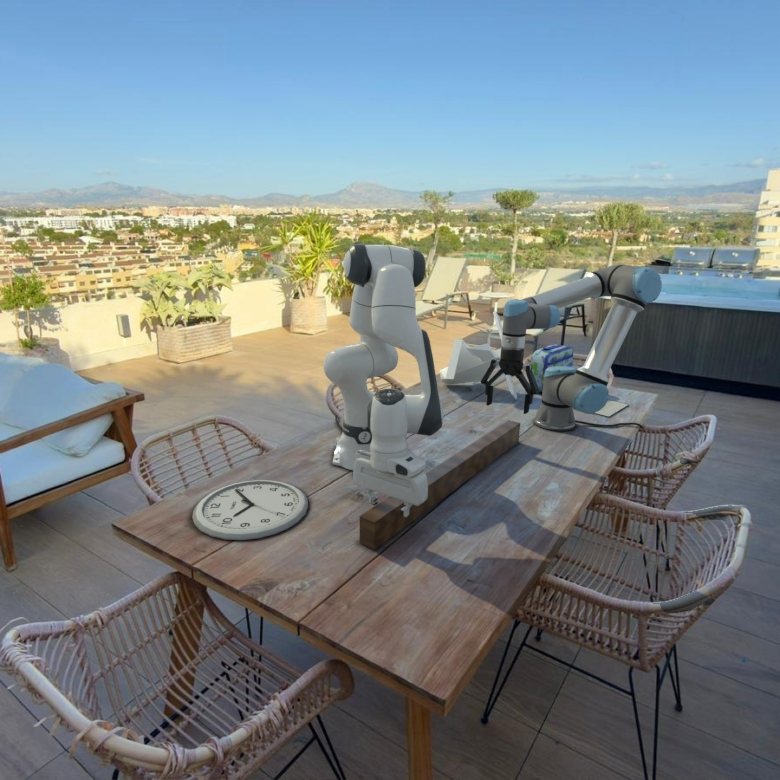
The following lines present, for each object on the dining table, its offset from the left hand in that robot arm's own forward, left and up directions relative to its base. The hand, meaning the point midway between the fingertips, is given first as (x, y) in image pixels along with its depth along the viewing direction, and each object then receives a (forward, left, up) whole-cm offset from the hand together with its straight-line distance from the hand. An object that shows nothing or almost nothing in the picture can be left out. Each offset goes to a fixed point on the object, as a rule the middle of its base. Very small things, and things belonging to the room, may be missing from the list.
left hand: (388, 509), depth 128 cm
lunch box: (-108, +99, -7) cm, 147 cm away
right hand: (-46, +50, +7) cm, 69 cm away
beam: (-23, +25, -7) cm, 35 cm away
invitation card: (-81, +110, -7) cm, 136 cm away
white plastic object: (-108, +64, -7) cm, 126 cm away
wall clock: (-18, -34, -7) cm, 39 cm away
